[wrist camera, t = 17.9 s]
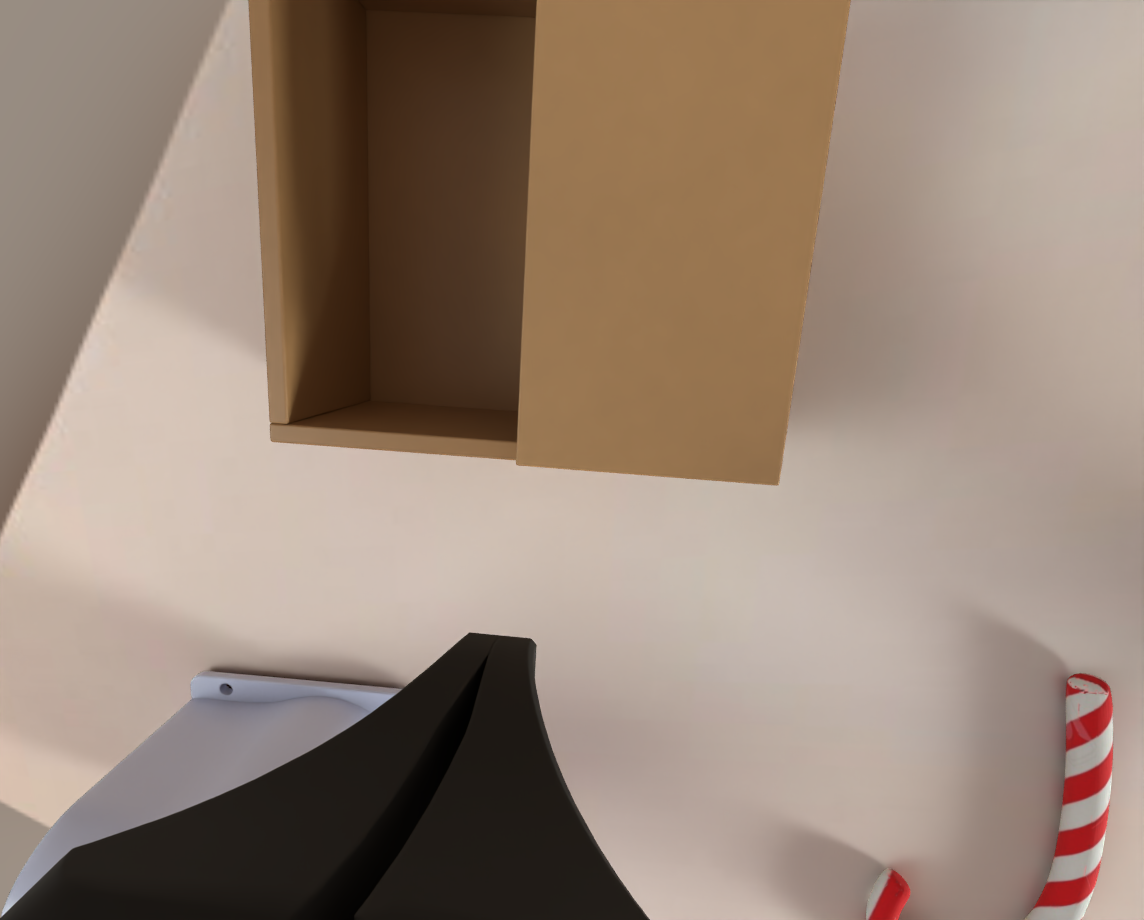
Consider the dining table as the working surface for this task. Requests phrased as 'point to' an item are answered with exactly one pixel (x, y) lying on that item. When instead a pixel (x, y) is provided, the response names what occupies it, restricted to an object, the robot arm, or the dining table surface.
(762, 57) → the box flap
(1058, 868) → the candy cane
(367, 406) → the cardboard box
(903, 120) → the dining table surface
